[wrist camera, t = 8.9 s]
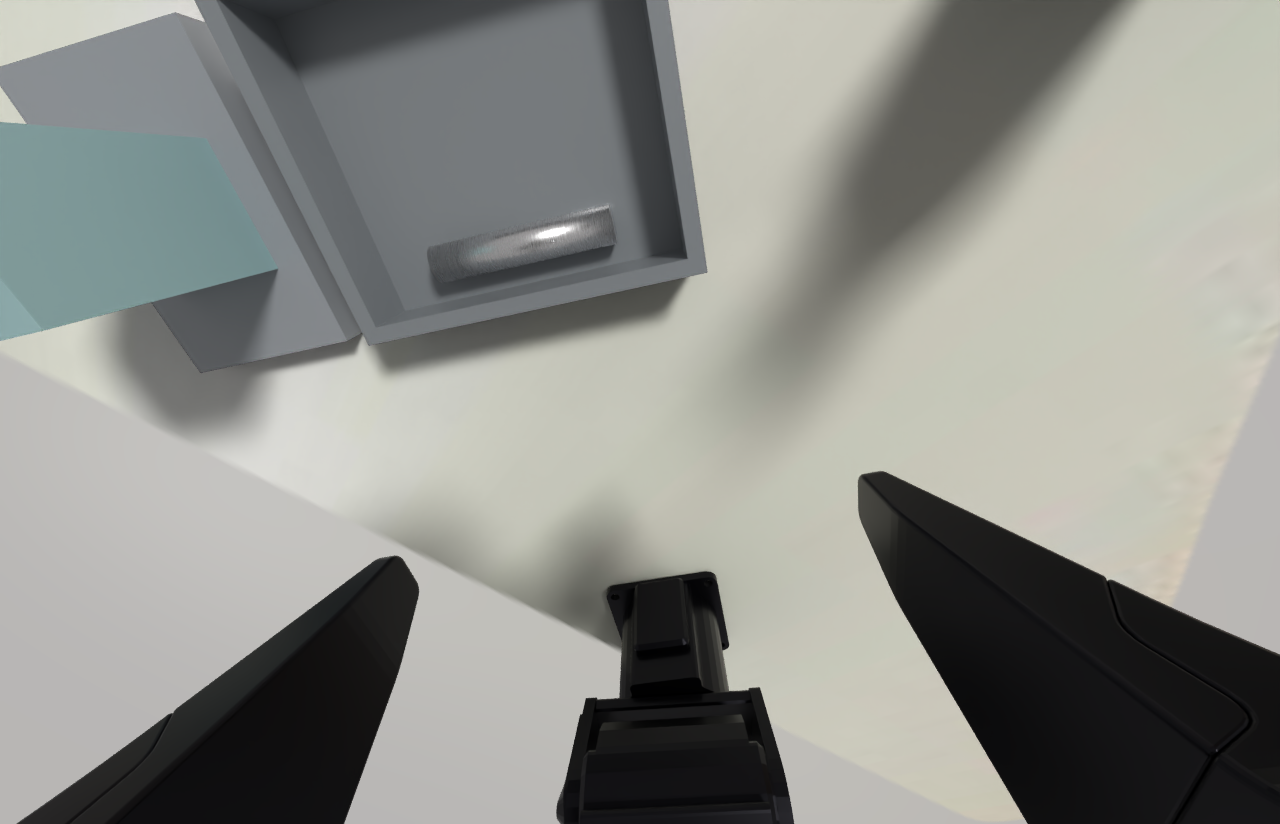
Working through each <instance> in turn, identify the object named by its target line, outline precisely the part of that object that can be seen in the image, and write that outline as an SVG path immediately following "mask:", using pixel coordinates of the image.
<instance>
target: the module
mask: <svg viewBox="0 0 1280 824" xmlns="http://www.w3.org/2000/svg"><path fill="white" fill-rule="evenodd" d="M275 269H278V267H277V265H276V263H275V262H274V260H273V258H272V256H271V254H270V253H269V251H268V249H267V247H266V245H265V244H264V242H263V240H262V238H261V236H260V235H259V233H258V231H257V229H256V227H255V225H254V224H253V222H252V220H251V218H250V216H249V215H248V213H247V211H246V209H245V207H244V206H243V204H242V202H241V200H240V198H239V197H238V195H237V193H236V191H235V189H234V188H233V186H232V184H231V182H230V180H229V178H228V177H227V175H226V173H225V171H224V169H223V168H222V166H221V164H220V162H219V160H218V159H217V157H216V155H215V153H214V151H213V150H212V148H211V146H210V144H209V142H208V141H207V139H206V138H197V137H185V136H172V135H159V134H146V133H133V132H120V131H107V130H95V129H82V128H69V127H56V126H43V125H30V124H18V123H5V122H0V341H2V340H6V339H10V338H14V337H19V336H23V335H27V334H31V333H35V332H40V331H44V330H48V329H51V328H55V327H59V326H63V325H66V324H70V323H74V322H78V321H82V320H85V319H89V318H93V317H97V316H101V315H104V314H108V313H112V312H116V311H120V310H123V309H127V308H131V307H135V306H139V305H142V304H146V303H150V302H154V301H157V300H161V299H165V298H169V297H173V296H176V295H180V294H184V293H188V292H192V291H195V290H199V289H203V288H207V287H211V286H214V285H218V284H222V283H226V282H229V281H233V280H237V279H241V278H245V277H248V276H252V275H256V274H260V273H264V272H267V271H271V270H275Z"/></svg>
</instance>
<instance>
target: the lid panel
mask: <svg viewBox="0 0 1280 824" xmlns="http://www.w3.org/2000/svg"><path fill="white" fill-rule="evenodd" d="M0 86H1V88H2V89H3V90H4V92H5V93H6V95H7V96H8V98H9V99H10V100H11V102H12V103H13V105H14V106H15V108H16V109H17V110H18V112H19V113H20V115H21V116H22V118H23V119H24V121H25V122H26V123H27V124H30V125H43V126H56V127H69V128H82V129H95V130H107V131H120V132H133V133H146V134H159V135H172V136H185V137H197V138H206V139H207V141H208V142H209V144H210V146H211V148H212V150H213V151H214V153H215V155H216V157H217V159H218V160H219V162H220V164H221V166H222V168H223V169H224V171H225V173H226V175H227V177H228V178H229V180H230V182H231V184H232V186H233V188H234V189H235V191H236V193H237V195H238V197H239V198H240V200H241V202H242V204H243V206H244V207H245V209H246V211H247V213H248V215H249V216H250V218H251V220H252V222H253V224H254V225H255V227H256V229H257V231H258V233H259V235H260V236H261V238H262V240H263V242H264V244H265V245H266V247H267V249H268V251H269V253H270V254H271V256H272V258H273V260H274V262H275V263H276V265H277V267H278V269H275V270H271V271H267V272H264V273H260V274H256V275H252V276H248V277H245V278H241V279H237V280H233V281H229V282H226V283H222V284H218V285H214V286H211V287H207V288H203V289H199V290H195V291H192V292H188V293H184V294H180V295H176V296H173V297H169V298H165V299H161V300H157V301H154V302H151V303H152V304H153V306H154V307H155V308H156V310H157V311H158V313H159V314H160V316H161V317H162V318H163V320H164V321H165V323H166V324H167V326H168V327H169V328H170V330H171V331H172V333H173V334H174V336H175V337H176V339H177V340H178V341H179V343H180V344H181V346H182V347H183V349H184V350H185V351H186V353H187V354H188V356H189V357H190V359H191V360H192V361H193V363H194V364H195V366H196V367H197V369H198V370H199V371H200V373H203V372H207V371H212V370H217V369H221V368H226V367H230V366H235V365H240V364H244V363H249V362H253V361H258V360H262V359H267V358H272V357H276V356H281V355H285V354H290V353H295V352H299V351H304V350H308V349H313V348H317V347H322V346H327V345H331V344H336V343H340V342H345V341H348V340H350V339H352V338H354V337H355V336H357V335H359V334H361V333H362V331H361V329H360V327H359V326H358V324H357V322H356V320H355V318H354V316H353V314H352V312H351V310H350V308H349V306H348V304H347V302H346V300H345V298H344V296H343V294H342V292H341V290H340V288H339V286H338V284H337V282H336V280H335V278H334V276H333V274H332V272H331V270H330V268H329V266H328V264H327V262H326V260H325V258H324V256H323V254H322V252H321V250H320V248H319V246H318V244H317V242H316V240H315V238H314V236H313V234H312V232H311V230H310V228H309V226H308V224H307V222H306V220H305V218H304V217H303V215H302V213H301V211H300V209H299V207H298V205H297V203H296V201H295V199H294V197H293V195H292V193H291V191H290V189H289V187H288V185H287V183H286V181H285V179H284V177H283V175H282V173H281V171H280V169H279V167H278V165H277V163H276V161H275V159H274V157H273V155H272V153H271V151H270V149H269V147H268V145H267V143H266V141H265V139H264V137H263V135H262V133H261V131H260V129H259V127H258V125H257V123H256V121H255V119H254V117H253V115H252V113H251V111H250V109H249V107H248V106H247V104H246V102H245V100H244V98H243V96H242V94H241V92H240V90H239V88H238V86H237V84H236V82H235V80H234V78H233V76H232V74H231V72H230V70H229V68H228V66H227V64H226V62H225V60H224V58H223V56H222V54H221V52H220V50H219V48H218V46H217V44H216V42H215V40H214V38H213V36H212V34H211V32H210V30H209V28H208V26H207V24H206V23H205V22H202V21H199V20H196V19H193V18H191V17H188V16H185V15H182V14H179V13H176V12H175V13H172V14H168V15H165V16H162V17H159V18H155V19H152V20H149V21H146V22H143V23H139V24H136V25H133V26H130V27H126V28H123V29H120V30H117V31H114V32H110V33H107V34H104V35H101V36H97V37H94V38H91V39H88V40H85V41H81V42H78V43H75V44H72V45H68V46H65V47H62V48H59V49H56V50H52V51H49V52H46V53H43V54H39V55H36V56H33V57H30V58H27V59H23V60H20V61H17V62H14V63H10V64H7V65H4V66H1V67H0Z"/></svg>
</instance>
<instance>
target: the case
mask: <svg viewBox="0 0 1280 824" xmlns="http://www.w3.org/2000/svg"><path fill="white" fill-rule="evenodd" d="M195 2H196V4H197V6H198V8H199V10H200V12H201V14H202V16H203V18H204V20H205V22H206V24H207V26H208V28H209V30H210V32H211V34H212V36H213V38H214V40H215V42H216V44H217V46H218V48H219V50H220V52H221V54H222V56H223V58H224V60H225V62H226V64H227V66H228V68H229V70H230V72H231V74H232V76H233V78H234V80H235V82H236V84H237V86H238V88H239V90H240V92H241V94H242V96H243V98H244V100H245V102H246V104H247V106H248V107H249V109H250V111H251V113H252V115H253V117H254V119H255V121H256V123H257V125H258V127H259V129H260V131H261V133H262V135H263V137H264V139H265V141H266V143H267V145H268V147H269V149H270V151H271V153H272V155H273V157H274V159H275V161H276V163H277V165H278V167H279V169H280V171H281V173H282V175H283V177H284V179H285V181H286V183H287V185H288V187H289V189H290V191H291V193H292V195H293V197H294V199H295V201H296V203H297V205H298V207H299V209H300V211H301V213H302V215H303V217H304V218H305V220H306V222H307V224H308V226H309V228H310V230H311V232H312V234H313V236H314V238H315V240H316V242H317V244H318V246H319V248H320V250H321V252H322V254H323V256H324V258H325V260H326V262H327V264H328V266H329V268H330V270H331V272H332V274H333V276H334V278H335V280H336V282H337V284H338V286H339V288H340V290H341V292H342V294H343V296H344V298H345V300H346V302H347V304H348V306H349V308H350V310H351V312H352V314H353V316H354V318H355V320H356V322H357V324H358V326H359V327H360V329H361V331H362V333H363V335H364V337H365V339H366V341H367V343H368V345H369V346H370V345H374V344H379V343H384V342H388V341H393V340H397V339H402V338H407V337H411V336H416V335H421V334H425V333H430V332H435V331H439V330H444V329H448V328H453V327H458V326H462V325H467V324H472V323H476V322H481V321H485V320H490V319H495V318H499V317H504V316H509V315H513V314H518V313H523V312H527V311H532V310H536V309H541V308H546V307H550V306H555V305H560V304H564V303H569V302H573V301H578V300H583V299H587V298H592V297H597V296H601V295H606V294H610V293H615V292H620V291H624V290H629V289H634V288H638V287H643V286H648V285H652V284H657V283H661V282H666V281H671V280H675V279H680V278H685V277H689V276H694V275H698V274H703V273H707V266H706V259H705V252H704V245H703V238H702V231H701V224H700V217H699V210H698V204H697V197H696V190H695V183H694V176H693V169H692V162H691V155H690V148H689V141H688V134H687V128H686V121H685V114H684V107H683V100H682V93H681V86H680V79H679V72H678V65H677V58H676V52H675V45H674V38H673V31H672V24H671V17H670V10H669V3H668V0H195ZM607 204H610V207H611V210H612V214H613V218H614V222H615V227H616V232H617V238H618V244H614V245H610V246H605V247H601V248H597V249H592V250H588V251H583V252H579V253H575V254H570V255H566V256H561V257H557V258H552V259H548V260H544V261H539V262H535V263H530V264H526V265H522V266H517V267H513V268H508V269H504V270H500V271H495V272H491V273H486V274H482V275H478V276H473V277H469V278H464V279H460V280H456V281H451V282H447V283H441V282H439V281H438V280H437V279H436V278H435V276H434V275H433V273H432V271H431V269H430V266H429V263H428V259H427V250H428V248H429V247H430V246H433V245H437V244H442V243H446V242H450V241H454V240H459V239H463V238H467V237H471V236H475V235H480V234H484V233H488V232H492V231H497V230H501V229H505V228H509V227H514V226H518V225H522V224H526V223H530V222H535V221H539V220H543V219H547V218H552V217H556V216H560V215H564V214H569V213H573V212H577V211H581V210H585V209H590V208H594V207H598V206H602V205H607Z"/></svg>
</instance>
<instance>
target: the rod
mask: <svg viewBox="0 0 1280 824" xmlns="http://www.w3.org/2000/svg"><path fill="white" fill-rule="evenodd" d="M614 244H618V238H617V232H616V227H615V222H614V218H613V214H612V210H611V207H610V204H607V205H602V206H598V207H594V208H590V209H585V210H581V211H577V212H573V213H569V214H564V215H560V216H556V217H552V218H547V219H543V220H539V221H535V222H530V223H526V224H522V225H518V226H514V227H509V228H505V229H501V230H497V231H492V232H488V233H484V234H480V235H475V236H471V237H467V238H463V239H459V240H454V241H450V242H446V243H442V244H437V245H433V246H430V247H429V248H428V250H427V259H428V263H429V266H430V269H431V271H432V273H433V275H434V276H435V278H436V279H437V280H438V281H439V282H441V283H447V282H451V281H456V280H460V279H464V278H469V277H473V276H478V275H482V274H486V273H491V272H495V271H500V270H504V269H508V268H513V267H517V266H522V265H526V264H530V263H535V262H539V261H544V260H548V259H552V258H557V257H561V256H566V255H570V254H575V253H579V252H583V251H588V250H592V249H597V248H601V247H605V246H610V245H614Z"/></svg>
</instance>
